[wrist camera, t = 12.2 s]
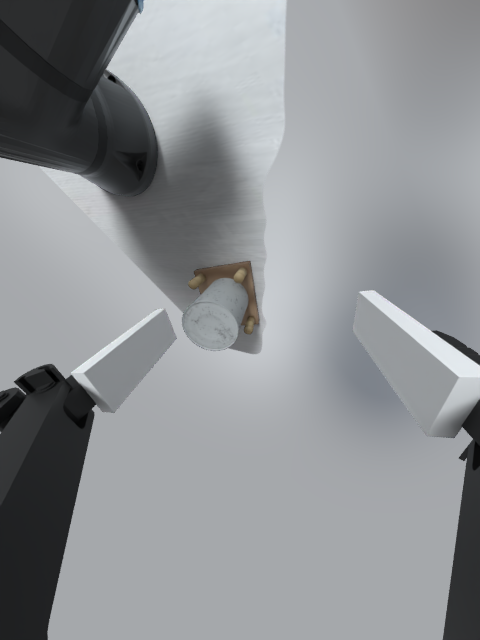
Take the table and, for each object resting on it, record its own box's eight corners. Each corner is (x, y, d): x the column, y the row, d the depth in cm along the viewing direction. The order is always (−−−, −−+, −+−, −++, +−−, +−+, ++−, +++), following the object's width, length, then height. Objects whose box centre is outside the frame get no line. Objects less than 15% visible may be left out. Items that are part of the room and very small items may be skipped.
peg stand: (197, 269, 39) (183, 278, 33) (250, 260, 36) (245, 268, 30) (213, 323, 46) (203, 339, 40) (259, 319, 43) (256, 336, 37)
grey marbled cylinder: (220, 323, 43) (202, 356, 32) (198, 288, 39) (170, 313, 29) (255, 309, 39) (248, 341, 29) (235, 270, 36) (219, 290, 25)
